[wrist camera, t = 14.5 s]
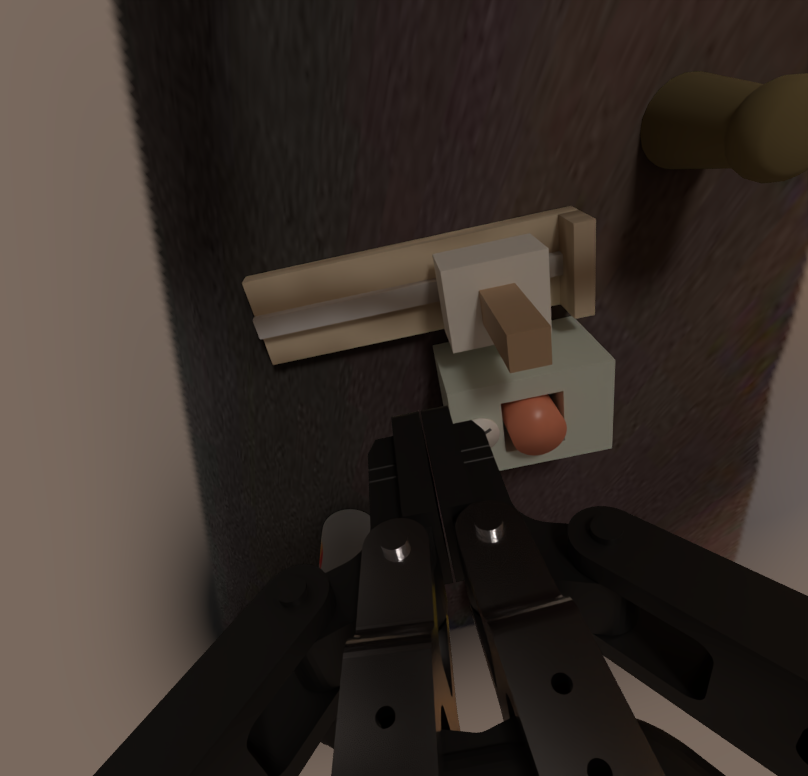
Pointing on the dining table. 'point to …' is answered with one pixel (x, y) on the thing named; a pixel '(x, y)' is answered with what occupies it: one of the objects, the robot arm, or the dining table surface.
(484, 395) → the cabinet
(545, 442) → the gauge plunger
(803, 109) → the dark brown knob shape
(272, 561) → the dining table surface
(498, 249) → the carriage
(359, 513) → the lotion bottle
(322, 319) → the rail
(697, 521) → the dining table surface
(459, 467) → the robot arm
